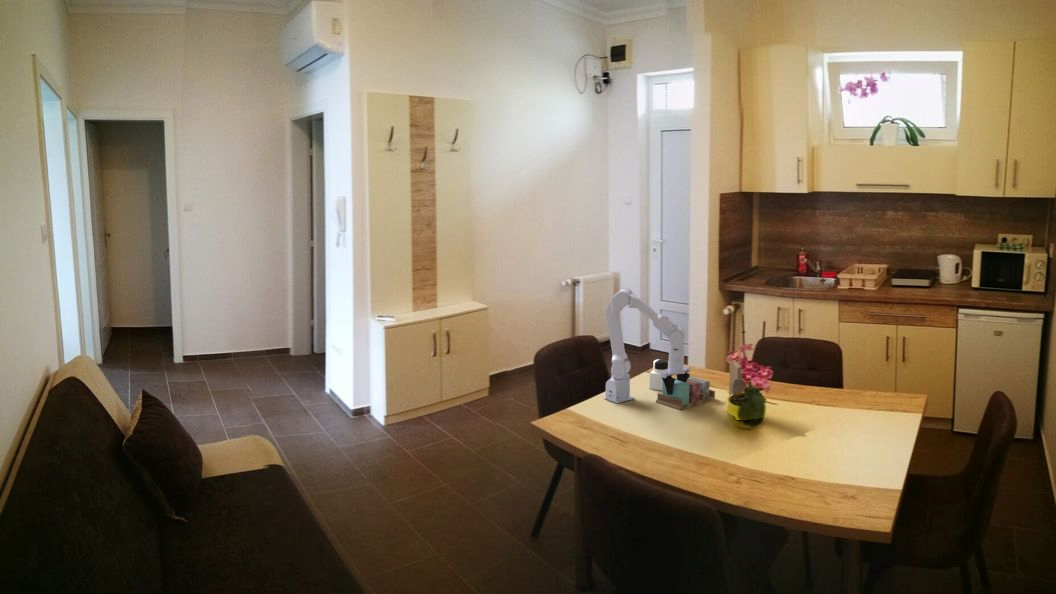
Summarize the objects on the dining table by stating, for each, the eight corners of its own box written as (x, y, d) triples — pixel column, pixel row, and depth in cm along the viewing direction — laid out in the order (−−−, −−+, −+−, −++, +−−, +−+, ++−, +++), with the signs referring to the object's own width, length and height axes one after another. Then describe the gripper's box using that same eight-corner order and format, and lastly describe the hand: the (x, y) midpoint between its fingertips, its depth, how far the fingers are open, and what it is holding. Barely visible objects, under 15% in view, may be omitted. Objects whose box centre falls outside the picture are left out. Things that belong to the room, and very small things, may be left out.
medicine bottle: (671, 387, 300) (672, 359, 298) (665, 391, 294) (665, 363, 292) (655, 384, 304) (656, 357, 302) (648, 388, 298) (649, 361, 296)
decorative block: (751, 421, 258) (753, 367, 255) (735, 420, 259) (737, 367, 255) (743, 411, 269) (745, 359, 266) (728, 410, 270) (730, 359, 266)
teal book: (681, 405, 273) (682, 385, 271) (662, 399, 281) (662, 379, 279) (688, 403, 275) (689, 383, 274) (669, 397, 283) (669, 377, 282)
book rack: (679, 410, 271) (680, 389, 269) (655, 402, 280) (656, 382, 279) (714, 399, 283) (715, 380, 282) (691, 392, 293) (691, 373, 291)
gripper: (671, 363, 268) (670, 398, 270) (696, 357, 276) (695, 391, 278) (657, 360, 273) (656, 394, 275) (682, 354, 282) (681, 387, 284)
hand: (675, 392), depth 277 cm, fingers open, 6 cm apart
